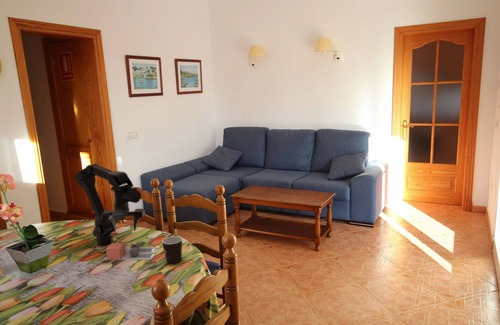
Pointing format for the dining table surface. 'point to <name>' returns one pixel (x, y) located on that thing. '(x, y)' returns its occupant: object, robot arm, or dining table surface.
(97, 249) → the dining table surface
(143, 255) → the breaker panel
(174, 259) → the coffee mug
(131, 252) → the block
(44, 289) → the dining table surface
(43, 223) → the dining table surface
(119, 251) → the cap
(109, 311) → the dining table surface
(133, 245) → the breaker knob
